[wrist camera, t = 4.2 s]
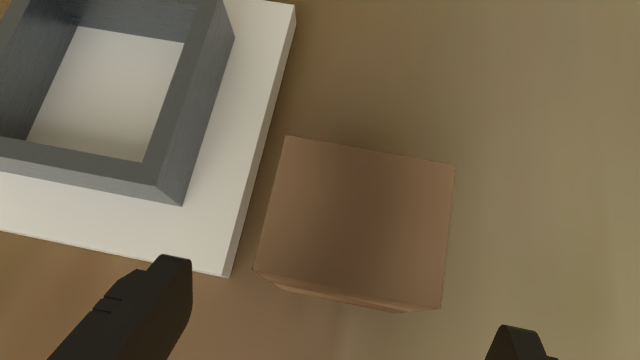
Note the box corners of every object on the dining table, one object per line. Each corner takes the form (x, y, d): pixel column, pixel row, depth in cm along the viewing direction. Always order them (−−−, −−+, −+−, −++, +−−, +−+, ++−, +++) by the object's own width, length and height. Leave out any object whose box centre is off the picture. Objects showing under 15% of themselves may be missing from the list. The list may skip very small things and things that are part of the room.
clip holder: (296, 24, 23) (288, -43, 19) (229, 278, 19) (200, 266, 15) (61, -13, 24) (3, -83, 20) (-53, 219, 20) (-156, 192, 16)
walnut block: (407, 225, 20) (456, 164, 12) (394, 313, 18) (440, 308, 11) (302, 205, 20) (285, 134, 12) (283, 290, 19) (251, 269, 11)
